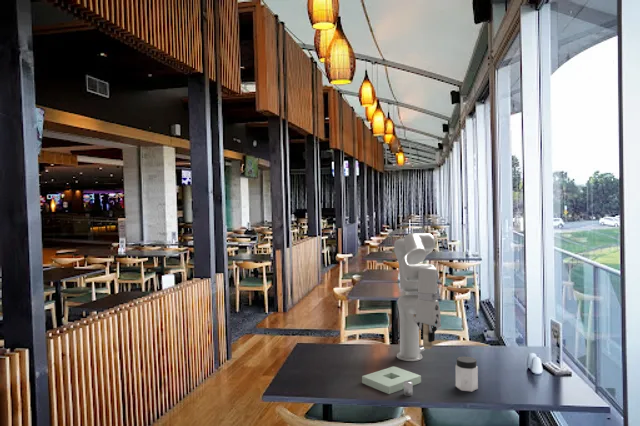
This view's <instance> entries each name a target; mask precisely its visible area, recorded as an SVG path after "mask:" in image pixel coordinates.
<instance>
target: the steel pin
mask: <svg viewBox="0 0 640 426" xmlns="http://www.w3.org/2000/svg"><path fill="white" fill-rule="evenodd" d="M413 386H414V385H413V382H412V381H404V389H403V395H404V396H407V397H412V396H413V395H414V393H413V392H414V391H413V389H414V387H413Z"/></svg>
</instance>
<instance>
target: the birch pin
mask: <svg viewBox="0 0 640 426" xmlns="http://www.w3.org/2000/svg"><path fill="white" fill-rule="evenodd" d="M429 332H430V331H429V325H427V324H423V340H422V342H423V343H422V345H423V346H422V347H423V348H425V350H431V349H432V348H433V342H429V341H428V333H429Z"/></svg>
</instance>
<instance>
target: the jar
mask: <svg viewBox="0 0 640 426" xmlns="http://www.w3.org/2000/svg"><path fill="white" fill-rule="evenodd" d="M477 360H478V359H476V358H475V357H471V356H465V355H463V356H458V357H456V364H455V366H454V368H455V370H454V371H455V387H456V388H457V389H458V390H459V391H463V392H474V391H475V390H478V389H479V381H478V380H479V379H478V378H479V377H478V376H479V373H478V372H479V371H478V370H479V367H478V366H477V364H478V362H477Z"/></svg>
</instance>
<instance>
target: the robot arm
mask: <svg viewBox="0 0 640 426" xmlns="http://www.w3.org/2000/svg"><path fill="white" fill-rule="evenodd" d="M393 246H394V247H393V249H394V250H393V251H394V254H395V257H396V260H397V262H398V272H399V288H400V289H401V291H402V292H405V293H417V294H404V295H400V296H399V297H398V299H397V309H398V316H399V352H397V354H396V358H397V359H398V360H401V361H405V362H418V361H421V360H422V359H423V355H422V352H424V351H425V350H426V349H425V348H423V346H422V347H420V341H423V324H427V325H429V331H430V332H429V333H428V341H429V342H432V343H433V342H435V341H436V339H435V338H436V333H435V332H436V331H437V330H438V329H441V328H442V323H441V322H442V321H441V320H442V319H441V317H442V316H441V307H440V302H439V300H438V299H439V295H437V294H438V293H437V285H438V284H437V274H438V273H437V268H436V266H435V265H434V264H432V263H422V262H423V261H425V260H426V258H427V255H430V254H431V252H433V250H434V249H435V246H436V241H435V237H434V235H433V234H431V233H430V232H411V233H408V234H406V235H405V236H404V238H399V239H396V240H395V241H394V245H393Z"/></svg>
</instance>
